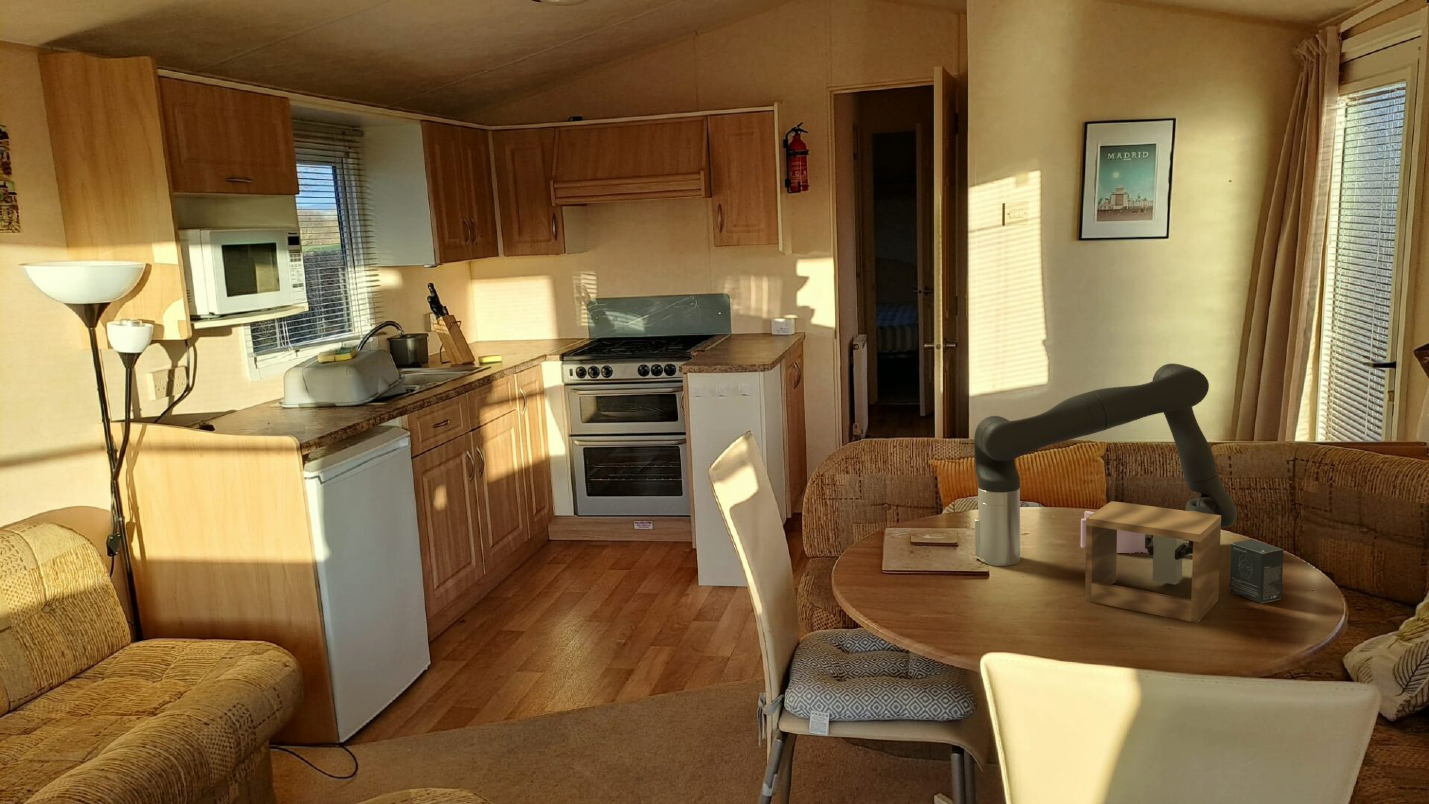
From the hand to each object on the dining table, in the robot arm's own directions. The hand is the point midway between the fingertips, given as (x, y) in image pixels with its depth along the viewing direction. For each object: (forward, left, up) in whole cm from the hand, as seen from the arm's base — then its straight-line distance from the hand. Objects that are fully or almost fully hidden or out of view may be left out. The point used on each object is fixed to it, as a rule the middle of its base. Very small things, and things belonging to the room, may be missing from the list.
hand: (1163, 553), depth 209 cm
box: (+16, +6, -8) cm, 19 cm away
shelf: (0, -7, -8) cm, 11 cm away
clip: (-15, +24, -8) cm, 30 cm away
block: (0, +3, -6) cm, 7 cm away
